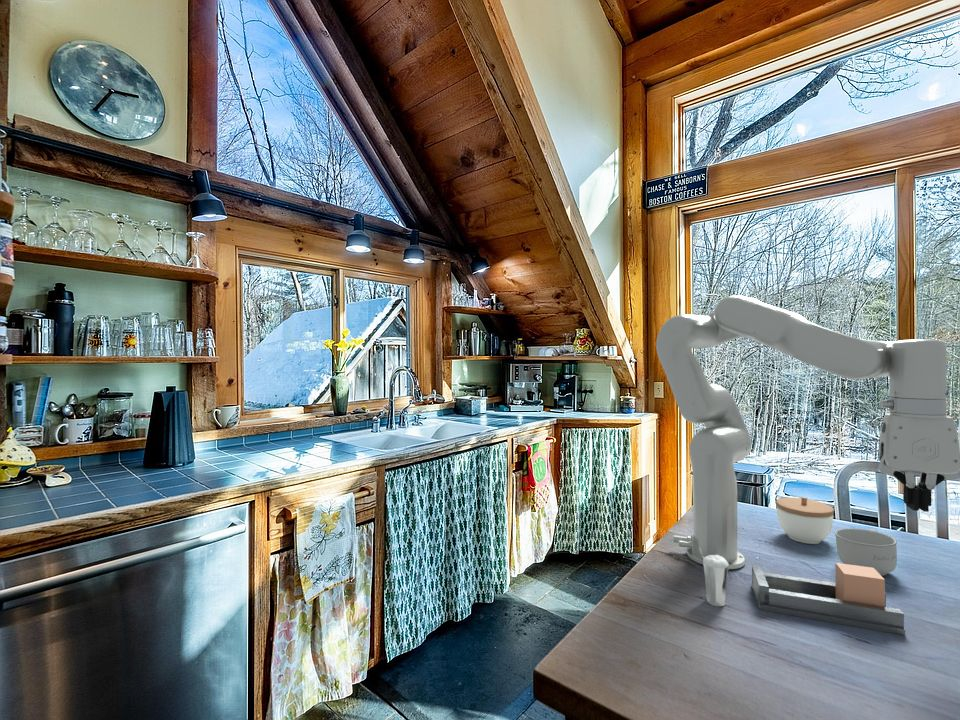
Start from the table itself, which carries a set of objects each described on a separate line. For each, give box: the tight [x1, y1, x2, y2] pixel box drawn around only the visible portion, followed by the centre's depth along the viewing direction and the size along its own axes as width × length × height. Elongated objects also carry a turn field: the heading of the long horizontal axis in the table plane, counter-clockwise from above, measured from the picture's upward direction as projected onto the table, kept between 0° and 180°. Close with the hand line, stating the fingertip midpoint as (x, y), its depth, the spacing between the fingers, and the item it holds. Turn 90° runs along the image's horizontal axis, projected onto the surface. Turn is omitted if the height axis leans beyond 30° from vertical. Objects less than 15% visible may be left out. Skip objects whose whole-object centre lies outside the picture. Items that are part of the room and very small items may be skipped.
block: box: [834, 562, 886, 607], centre depth 87 cm, size 6×5×7 cm
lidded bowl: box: [775, 496, 835, 545], centre depth 123 cm, size 13×13×11 cm
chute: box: [751, 565, 906, 636], centre depth 90 cm, size 22×10×4 cm, turn 68°
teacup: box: [834, 527, 898, 577], centre depth 106 cm, size 14×11×8 cm
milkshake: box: [699, 548, 729, 608], centre depth 92 cm, size 5×5×10 cm
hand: (917, 508), depth 84 cm, fingers closed
